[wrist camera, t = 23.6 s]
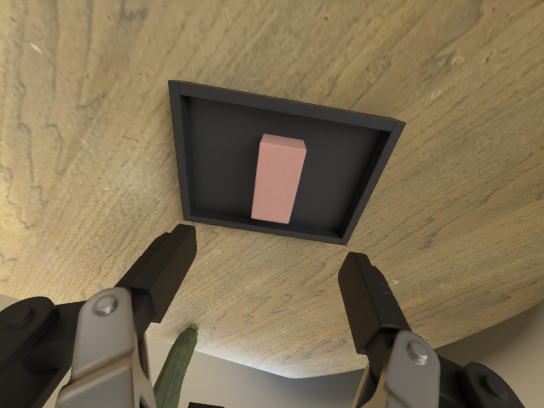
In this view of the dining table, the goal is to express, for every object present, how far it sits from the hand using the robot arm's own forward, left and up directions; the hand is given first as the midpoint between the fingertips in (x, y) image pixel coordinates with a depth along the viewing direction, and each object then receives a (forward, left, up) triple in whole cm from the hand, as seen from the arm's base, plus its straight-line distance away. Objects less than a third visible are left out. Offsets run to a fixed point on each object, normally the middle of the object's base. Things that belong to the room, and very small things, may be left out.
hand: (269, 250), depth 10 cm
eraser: (0, 0, -10) cm, 10 cm away
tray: (0, 0, -11) cm, 11 cm away
